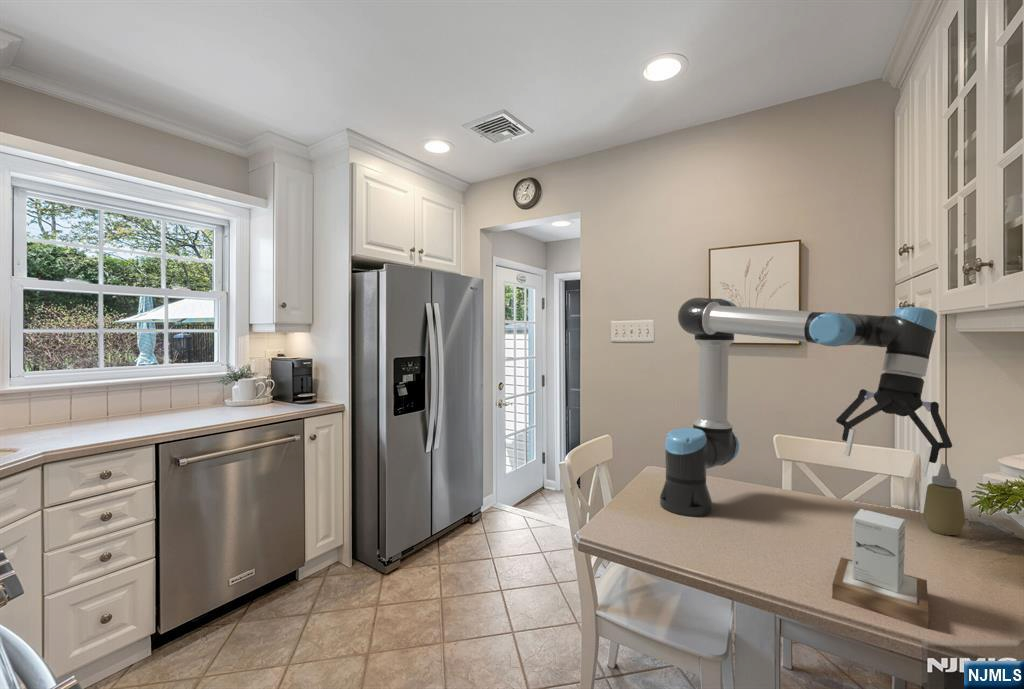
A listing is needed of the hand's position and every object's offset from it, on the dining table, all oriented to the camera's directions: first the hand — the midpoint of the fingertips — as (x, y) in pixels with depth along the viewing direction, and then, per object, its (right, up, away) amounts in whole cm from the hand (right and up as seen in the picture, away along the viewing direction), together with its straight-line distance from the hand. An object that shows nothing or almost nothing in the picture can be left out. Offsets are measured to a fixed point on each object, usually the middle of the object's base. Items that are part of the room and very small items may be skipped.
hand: (883, 465), depth 101 cm
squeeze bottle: (+30, -22, +17) cm, 41 cm away
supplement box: (-11, -20, -12) cm, 26 cm away
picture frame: (-11, -23, -12) cm, 28 cm away
